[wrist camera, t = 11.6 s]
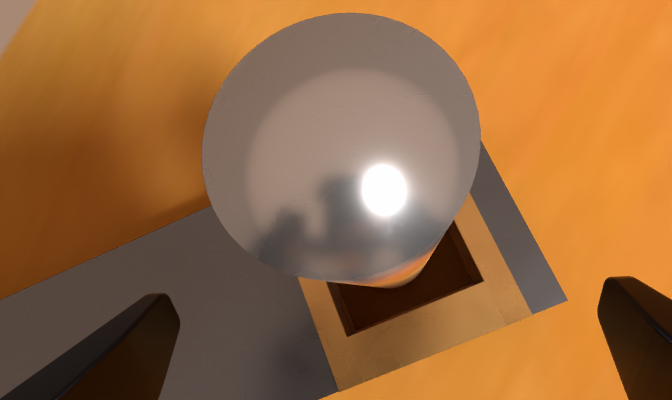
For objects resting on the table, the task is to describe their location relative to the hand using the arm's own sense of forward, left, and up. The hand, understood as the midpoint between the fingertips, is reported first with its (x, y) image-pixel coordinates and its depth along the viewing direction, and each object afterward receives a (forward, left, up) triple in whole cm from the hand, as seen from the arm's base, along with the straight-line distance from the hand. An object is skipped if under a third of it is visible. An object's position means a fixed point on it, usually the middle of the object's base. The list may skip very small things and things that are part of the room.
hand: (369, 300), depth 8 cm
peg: (+2, 0, -10) cm, 10 cm away
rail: (-2, +11, -10) cm, 15 cm away
